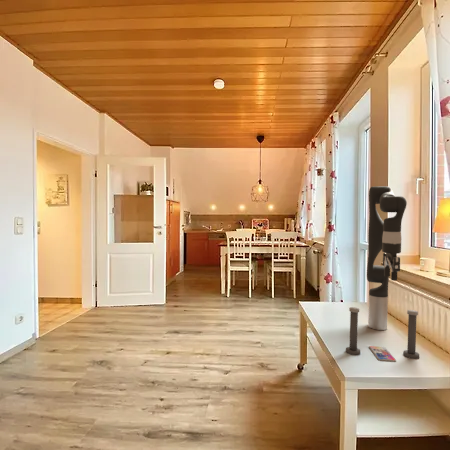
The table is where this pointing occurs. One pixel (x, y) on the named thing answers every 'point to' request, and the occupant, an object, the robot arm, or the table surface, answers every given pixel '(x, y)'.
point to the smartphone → (382, 354)
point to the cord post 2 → (411, 335)
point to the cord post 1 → (353, 332)
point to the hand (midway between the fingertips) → (390, 278)
